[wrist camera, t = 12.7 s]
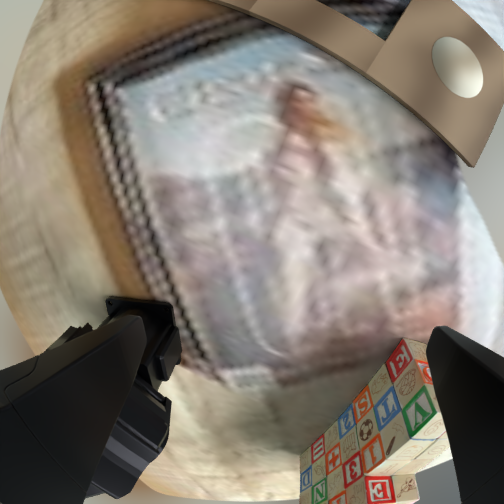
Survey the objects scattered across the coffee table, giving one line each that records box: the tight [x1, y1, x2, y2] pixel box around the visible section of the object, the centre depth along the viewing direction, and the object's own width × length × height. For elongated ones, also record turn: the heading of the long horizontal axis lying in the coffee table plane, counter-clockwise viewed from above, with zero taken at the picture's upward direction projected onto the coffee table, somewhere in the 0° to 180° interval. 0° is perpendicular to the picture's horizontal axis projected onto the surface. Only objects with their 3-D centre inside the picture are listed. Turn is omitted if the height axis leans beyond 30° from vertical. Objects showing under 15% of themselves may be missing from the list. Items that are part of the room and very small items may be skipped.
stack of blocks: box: [299, 338, 450, 504], centre depth 21 cm, size 21×6×12 cm, turn 160°
